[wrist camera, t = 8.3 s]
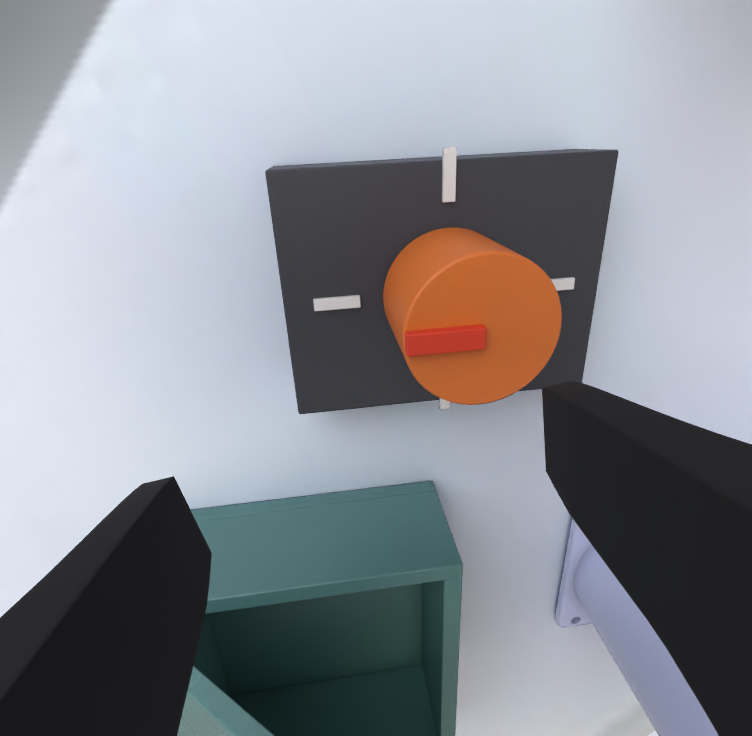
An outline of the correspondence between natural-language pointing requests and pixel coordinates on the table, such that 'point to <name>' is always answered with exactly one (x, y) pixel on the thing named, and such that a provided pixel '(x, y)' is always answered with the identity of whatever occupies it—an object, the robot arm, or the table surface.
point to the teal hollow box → (335, 612)
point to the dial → (471, 315)
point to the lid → (215, 712)
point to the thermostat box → (403, 225)
